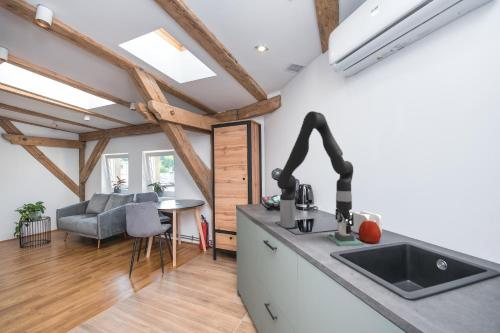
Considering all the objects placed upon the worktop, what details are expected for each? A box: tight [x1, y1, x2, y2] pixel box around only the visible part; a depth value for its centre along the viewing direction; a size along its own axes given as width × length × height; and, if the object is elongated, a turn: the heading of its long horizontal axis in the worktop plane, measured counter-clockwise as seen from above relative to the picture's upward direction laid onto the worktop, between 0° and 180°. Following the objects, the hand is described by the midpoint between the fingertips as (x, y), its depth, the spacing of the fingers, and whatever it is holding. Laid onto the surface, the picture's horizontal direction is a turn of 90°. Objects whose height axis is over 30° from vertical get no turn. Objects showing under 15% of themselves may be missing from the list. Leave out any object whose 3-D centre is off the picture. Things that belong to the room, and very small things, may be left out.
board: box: [326, 231, 364, 247], centre depth 113 cm, size 14×12×4 cm
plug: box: [337, 221, 350, 236], centre depth 114 cm, size 4×4×8 cm
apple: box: [357, 221, 382, 244], centre depth 113 cm, size 10×10×10 cm
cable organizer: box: [349, 210, 383, 235], centre depth 127 cm, size 15×11×12 cm
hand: (344, 231), depth 114 cm, fingers open, 8 cm apart
